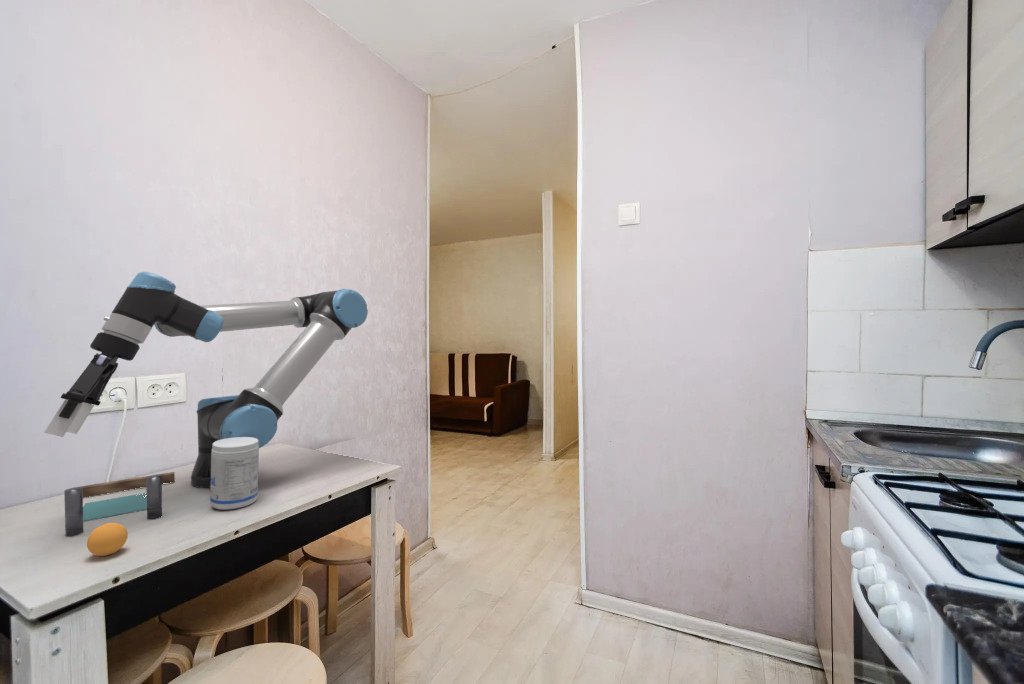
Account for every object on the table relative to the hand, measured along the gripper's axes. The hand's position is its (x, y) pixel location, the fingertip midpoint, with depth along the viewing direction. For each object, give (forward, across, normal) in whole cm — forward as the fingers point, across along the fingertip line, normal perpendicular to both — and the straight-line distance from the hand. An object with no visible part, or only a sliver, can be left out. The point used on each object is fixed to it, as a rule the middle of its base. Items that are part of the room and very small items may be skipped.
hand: (61, 433), depth 89 cm
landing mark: (+13, -16, +15) cm, 25 cm away
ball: (+14, +14, +16) cm, 26 cm away
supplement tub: (+6, 0, +35) cm, 36 cm away
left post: (+18, -2, +10) cm, 20 cm away
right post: (+12, -2, +22) cm, 25 cm away
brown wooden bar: (+12, -30, +14) cm, 35 cm away
